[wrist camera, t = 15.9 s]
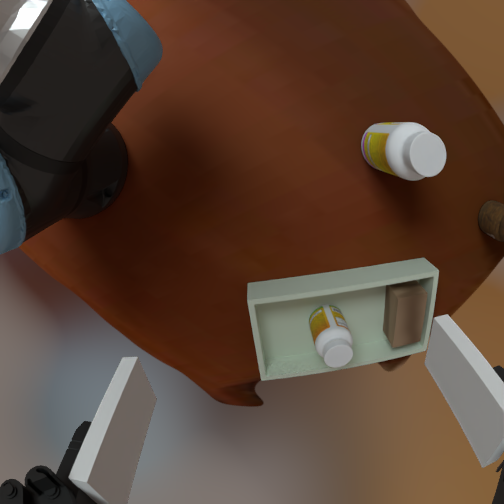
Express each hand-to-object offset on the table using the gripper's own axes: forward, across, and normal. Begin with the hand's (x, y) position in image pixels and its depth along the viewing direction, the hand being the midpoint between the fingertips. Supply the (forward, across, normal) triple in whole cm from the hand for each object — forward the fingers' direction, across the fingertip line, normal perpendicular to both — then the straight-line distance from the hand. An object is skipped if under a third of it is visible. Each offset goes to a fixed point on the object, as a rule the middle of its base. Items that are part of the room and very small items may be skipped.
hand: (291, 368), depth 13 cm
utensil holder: (+32, +38, -6) cm, 50 cm away
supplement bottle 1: (+31, +7, -19) cm, 37 cm away
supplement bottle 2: (+32, +17, +6) cm, 37 cm away
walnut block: (+31, +20, -19) cm, 41 cm away
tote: (+32, +10, -19) cm, 38 cm away
